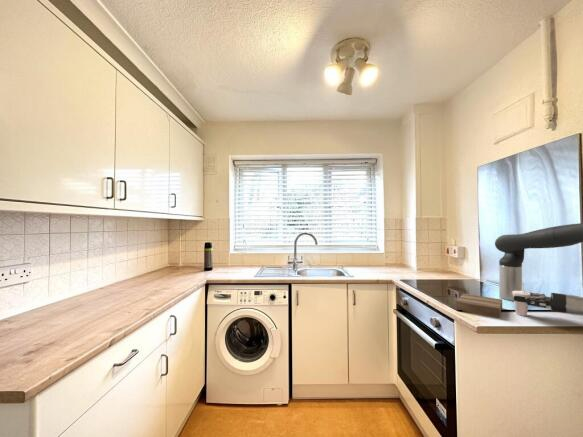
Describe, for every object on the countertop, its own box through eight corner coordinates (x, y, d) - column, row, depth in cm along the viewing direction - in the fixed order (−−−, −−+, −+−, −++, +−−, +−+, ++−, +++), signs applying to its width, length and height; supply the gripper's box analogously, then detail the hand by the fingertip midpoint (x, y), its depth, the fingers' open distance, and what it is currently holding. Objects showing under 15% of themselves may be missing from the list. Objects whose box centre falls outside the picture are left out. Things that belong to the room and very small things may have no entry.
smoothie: (534, 317, 119) (534, 284, 119) (517, 316, 120) (517, 284, 120) (525, 312, 125) (525, 281, 125) (508, 311, 126) (508, 280, 126)
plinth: (463, 301, 142) (462, 293, 141) (502, 308, 131) (502, 299, 131) (456, 309, 129) (456, 301, 129) (499, 317, 119) (499, 308, 119)
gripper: (565, 290, 119) (514, 284, 130) (568, 299, 108) (513, 291, 119) (565, 308, 119) (514, 300, 130) (568, 318, 108) (513, 309, 119)
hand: (514, 296), depth 124 cm, fingers closed on smoothie, 6 cm apart
